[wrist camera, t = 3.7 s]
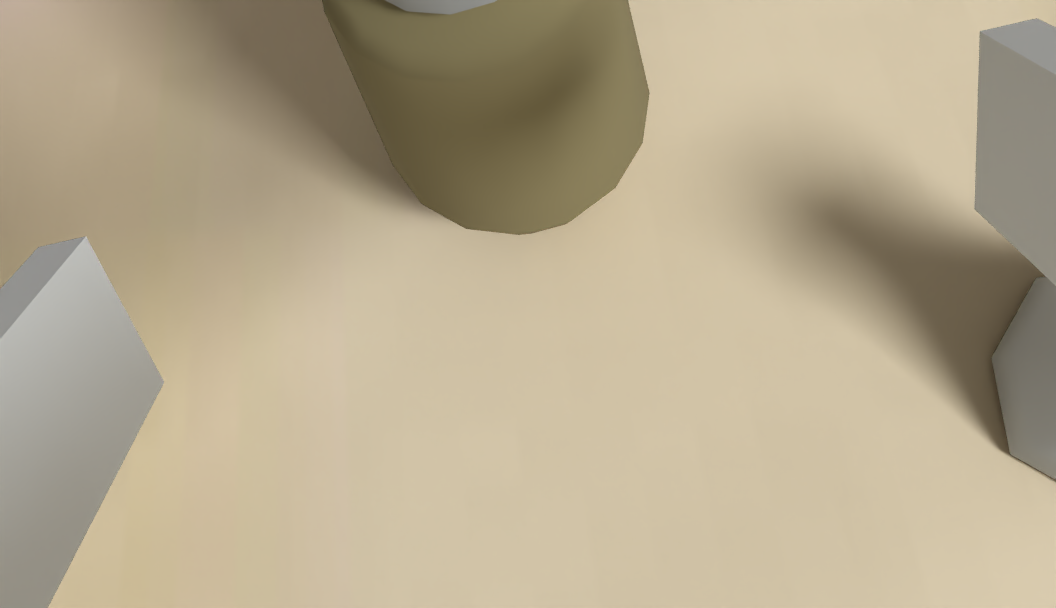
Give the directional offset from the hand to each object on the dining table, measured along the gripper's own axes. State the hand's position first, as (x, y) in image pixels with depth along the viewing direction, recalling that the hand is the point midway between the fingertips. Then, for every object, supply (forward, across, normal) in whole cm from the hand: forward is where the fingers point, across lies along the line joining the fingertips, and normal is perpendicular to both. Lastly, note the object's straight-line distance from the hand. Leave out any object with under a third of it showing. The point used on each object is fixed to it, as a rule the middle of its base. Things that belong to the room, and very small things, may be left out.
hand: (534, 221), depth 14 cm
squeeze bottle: (+17, -1, -6) cm, 18 cm away
